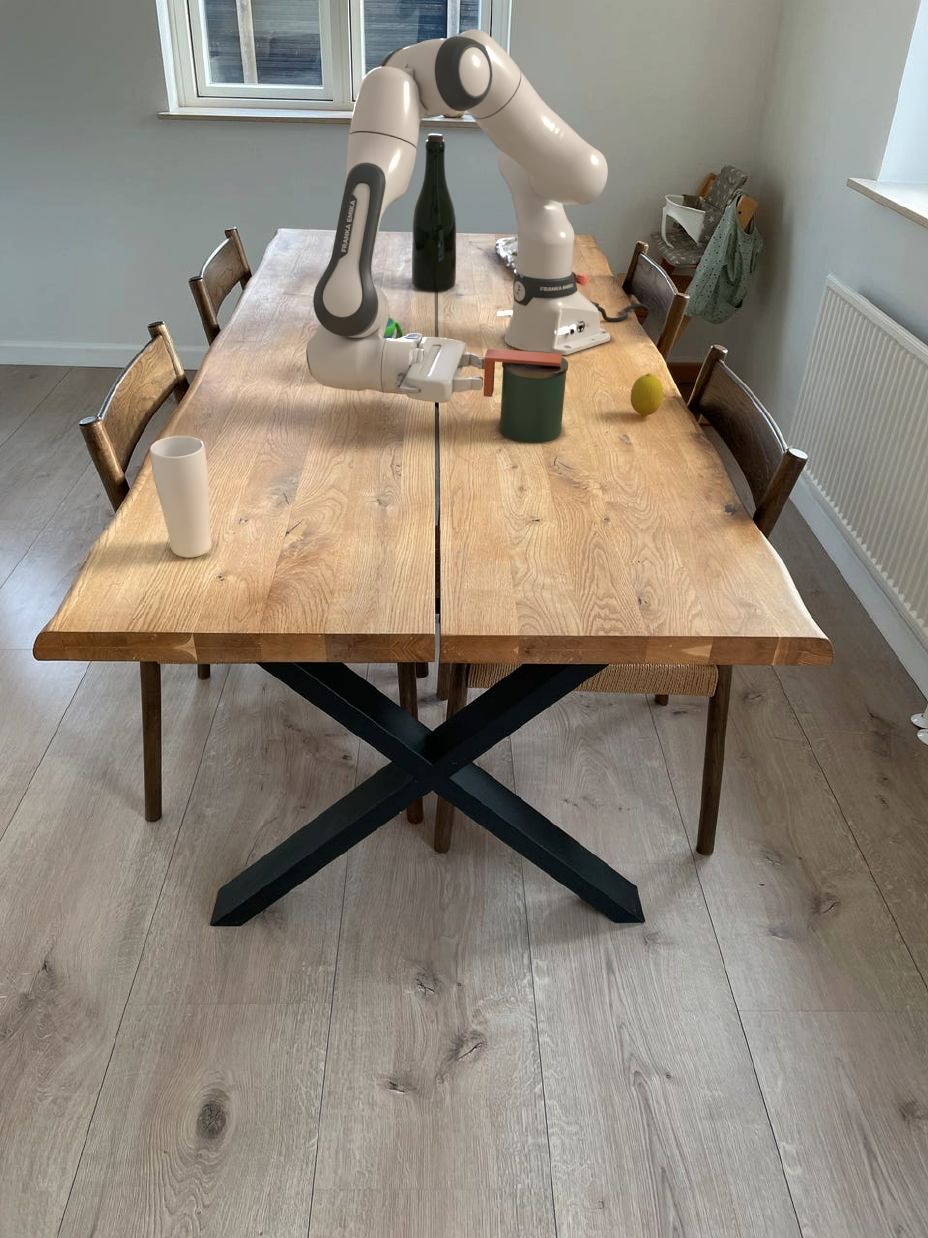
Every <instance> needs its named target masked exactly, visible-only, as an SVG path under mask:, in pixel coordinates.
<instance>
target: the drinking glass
mask: <svg viewBox="0 0 928 1238" xmlns="http://www.w3.org/2000/svg"><path fill="white" fill-rule="evenodd" d="M149 453H150V464H151V469H152V470H151V471H152V475H153V479H154V480H153V481H154V484H155V488H156V492H157V495H158V500H159V504H160V508H161V511H162V515H163V518H164V522H165V523H164V524H165V526H166V530H167V531H166V532H167V535H168V539H169V540H168V541H169V545H170V546H169V547H170V549H171V551H172V553H173V554H175V555H176V556H178V557H181V558H189V559H190V558H197V557H198V558H199V557H200V556H203V555H205V554H206V553H208V552H209V551H210V550H211V549H212V547H213V546H212V545H213V542H212V541H213V539H212V534H211V515H210V514H211V513H210V486H209V483H210V482H209V468H208V460H207V456H206V455H207V454H206V449H205V444H204V441H202V440H201V439H200V438H197V437H194V436H191V435H173V436H168V437H167V436H166V437H163V438H160V439H158V440H156V441H155V442H153V443H152V444H151V445H150V447H149Z"/></svg>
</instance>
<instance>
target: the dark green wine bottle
mask: <svg viewBox="0 0 928 1238" xmlns="http://www.w3.org/2000/svg"><path fill="white" fill-rule="evenodd" d="M424 146H425V147H424V148H425V164H424V165H425V166H424V174H423V176H424V177H423V181H422V185H421V187H420V191H419V194H418V197H417V199H416V202H415V205H414V210H413V216H412V233H411V234H412V235H411V238H412V239H411V284H412V286H413V287H414V288H416V289H417V290H420V291H425V292H447V291H449V290H452V289H453V288H455V286H456V284H457V283H456V281H457V216H456V209H455V205H454V202H453V199H452V196H451V193H450V191H449V190H450V189H449V187H448V182H447V175H446V160H445V158H446V156H445V154H446V153H445V152H446V151H445V150H446V142H445V140H444V136H443V134H440V133H429V134H428V135H427V140H426V141H425V145H424Z"/></svg>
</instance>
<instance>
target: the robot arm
mask: <svg viewBox="0 0 928 1238" xmlns="http://www.w3.org/2000/svg"><path fill="white" fill-rule="evenodd" d="M466 111H467V112H468V114H469V115H470V116H471V118H473V120H474V121H475V123H476V124H477V125H478V126H479V128H480V129H481V130H482V131H483V133H484V134H485V135H486V137H487V138H488V139H489V140H490V142H491V143H492V144H493V145H494V147H496V148H497V149H498V150H499V151H498V155H497V156H498V157H497V166H498V167H497V168H498V171H499V173H500V176H501V177H502V179H503V180H504V182H505V184H506V185H507V188H508V190H509V193H510V196H511V200H512V204H513V209H514V213H515V218H516V219H515V220H516V229H517V238H518V248H517V269H516V270H515V271H514V276H513V284H512V287H513V288H512V294H513V303H512V309H511V310H503V311H497V316H507V315H510V319H509V323H508V327H507V330H506V333H505V335H504V342H505V343H506V344H507V345H508V346H510V347H513V348H515V349H517V350H520V351H543V352H549V353H556V354H562V356H568V355H570V354H574V353H577V352H581V351H583V350H586V349H589V348H592V347H595V346H598V345H601V344H604V343H608V342H610V341H611V335H610V333H609V332H608V331H607V330H605V328H602V327H601V317H602V319H603V320H604V321H606V322H609V323H617V322H622V321H625V320H627V319H628V317H629V315H628V313H627V312H629V311H631V310H635V309H644V310H645V311H648V312H649V311H651V308H650V307H649V306H648V305H647V304H645V303H640V302H639V303H634V304H630V305H628V306H626V307H624V308H622V309H621V311H620V313H621V315H622V316H618V317H609V316H607V315H608V314H607V313H606V310H605V308H603V307H602V306H600V303H598V302H596V301H591V300H589V298H587V297H586V296H584V295H583V294H582V293H581V292H580V291H579V290H578V286H577V284H579V285H580V286H582V287H583V286H586V285H587V284H588V282H589V277H588V276H587V275H586V274H583V273H580V272H579V273H578V274H576V272H574V271H573V261H574V251H575V240H576V239H575V238H576V236H575V230H574V227H573V226H572V224H571V222H570V221H569V219H568V217H567V215H566V212H565V209H564V205H566V206H567V205H568V206H584V205H589V204H591V203H593V202H595V201H596V200H597V199H598V198H599V197H600V196H601V195H602V193H603V192H604V189H605V187H606V184H607V182H608V174H609V168H608V167H609V165H608V163H607V159H606V157H605V155H604V154H603V153H602V152H601V151H599V150H598V149H597V148H595V147H594V146H592V145H591V144H590V143H588V142H587V141H586V140H584V139H583V138H582V137H581V136H580V135H579V134H578V133H577V132H576V131H575V129H573V128H572V127H571V126H570V125H569V124H568V123H567V122H566V121H565V120H564V119H563V118H561V117H560V116H559V114H557V113H556V112H555V111H553V110H552V108H551V107H550V106H549V105H548V104H547V103H546V102H545V101H544V100H543V98H541V96H540V95H539V93H538V92H537V91H536V89H534V87H533V86H532V84H531V83H530V81H529V80H528V79H527V77H526V76H525V74H524V73H523V72H522V70H521V69H520V67H518V65H517V64H516V62H515V61H514V59H512V57H511V56H510V55H509V54H508V52H507V51H505V49H504V48H503V47H502V46H501V45H500V44H499V43H498V42H497V41H496V40H495V39H493V38H492V36H490V35H489V34H488V32H485V31H483V30H481V29H476V28H473V29H468V30H465V31H463V32H461V33H459V34H458V35H454V36H450V37H448V38H434V39H426V40H423V41H420V42H419V43H415V44H411V45H409V46H406V47H400V48H397V49H394V50H392V51H390V52H389V53H387V54H386V55H385V56H384V57H383V58H382V59H381V60H380V62H379V63H378V65H377V67H375V68H373V69H371V70H369V71H368V72H367V73H366V74H365V75H364V77H363V79H362V82H361V84H360V87H359V90H358V93H357V97H356V100H355V104H354V108H353V111H352V115H351V116H352V117H351V121H350V127H349V134H348V139H347V149H346V158H345V176H344V185H343V186H344V187H343V196H342V200H341V205H340V210H339V214H338V215H339V216H338V219H337V225H336V231H335V237H334V241H333V247H332V252H331V256H330V260H329V262H328V265H326V266H327V267H326V268H325V270H324V272H323V274H322V275H321V276H320V278H319V280H318V282H317V284H316V286H315V289H314V292H313V298H312V299H313V300H312V305H313V310H314V313H315V316H316V318H317V320H318V321H319V323H320V325H319V327H318V328H317V330H316V331H315V333H314V334H313V335H312V336H311V337H309V339H308V340H307V343H306V351H305V353H306V354H305V355H306V364H307V367H308V370H309V372H310V373H309V374H310V375H311V378H313V379H314V380H315V382H317V383H318V384H319V385H322V386H324V387H327V388H332V389H338V390H344V391H346V390H347V391H354V392H355V391H356V392H361V391H367V390H373V391H377V392H380V393H382V394H395V395H396V394H397V395H406V396H407V398H409V399H412V400H417V401H422V402H428V403H429V402H430V403H438V404H444V403H448V402H450V401H451V399H452V397H453V394H454V393H463V392H468V391H481V390H482V389H483V388H484V377H482V376H477V375H472V377H461V376H460V375H461V373H462V370H463V367H465V368H469V367H474V368H477V370H485V355H479V354H476V353H474V352H471V351H467V350H466V348H467V347H466V343H465V342H464V341H462V340H459V339H455V338H447V337H439V336H424V337H423V334H422V333H419V332H411V333H407V335H405V336H404V337H402V338H397V339H396V338H392V339H386V338H384V336H385V332H386V328H387V323H388V319H389V317H390V311H391V310H390V304H389V303H390V302H389V300H388V298H387V295H386V293H385V292H384V291H383V289H382V288H380V286H378V285H377V284H375V282H374V278H373V263H374V257H375V253H376V248H377V247H376V246H377V242H378V241H377V240H378V235H379V230H380V225H381V221H382V218H383V216H384V215H383V214H384V213H385V211H386V209H387V208H388V207H389V206H390V205H391V204H392V203H393V202H395V201H397V200H399V199H400V198H401V197H403V196H404V195H405V193H406V192H407V190H408V187H409V184H410V183H411V182H410V181H411V179H412V176H413V173H414V172H413V171H414V169H415V168H414V167H415V164H416V158H417V152H418V144H419V134H420V123H421V121H422V119H428V118H429V119H431V118H438V117H441V116H445V115H449V114H452V113H457V112H466ZM600 313H601V314H600Z"/></svg>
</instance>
